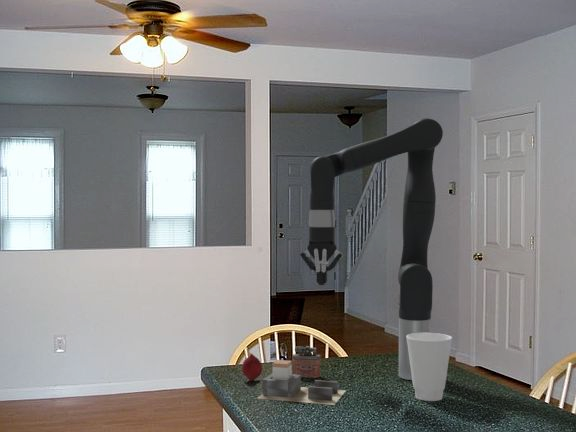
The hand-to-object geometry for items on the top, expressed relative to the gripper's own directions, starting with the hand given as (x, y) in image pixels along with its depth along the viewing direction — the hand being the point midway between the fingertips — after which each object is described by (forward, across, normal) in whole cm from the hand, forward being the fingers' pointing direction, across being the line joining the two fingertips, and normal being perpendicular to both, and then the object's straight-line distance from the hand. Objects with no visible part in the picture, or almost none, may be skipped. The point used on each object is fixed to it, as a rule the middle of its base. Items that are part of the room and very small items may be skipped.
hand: (321, 284), depth 206 cm
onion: (+27, +18, +10) cm, 34 cm away
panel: (+27, -1, +25) cm, 37 cm away
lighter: (+27, +3, +6) cm, 28 cm away
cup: (+27, -32, +13) cm, 44 cm away
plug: (+26, +4, +25) cm, 36 cm away
